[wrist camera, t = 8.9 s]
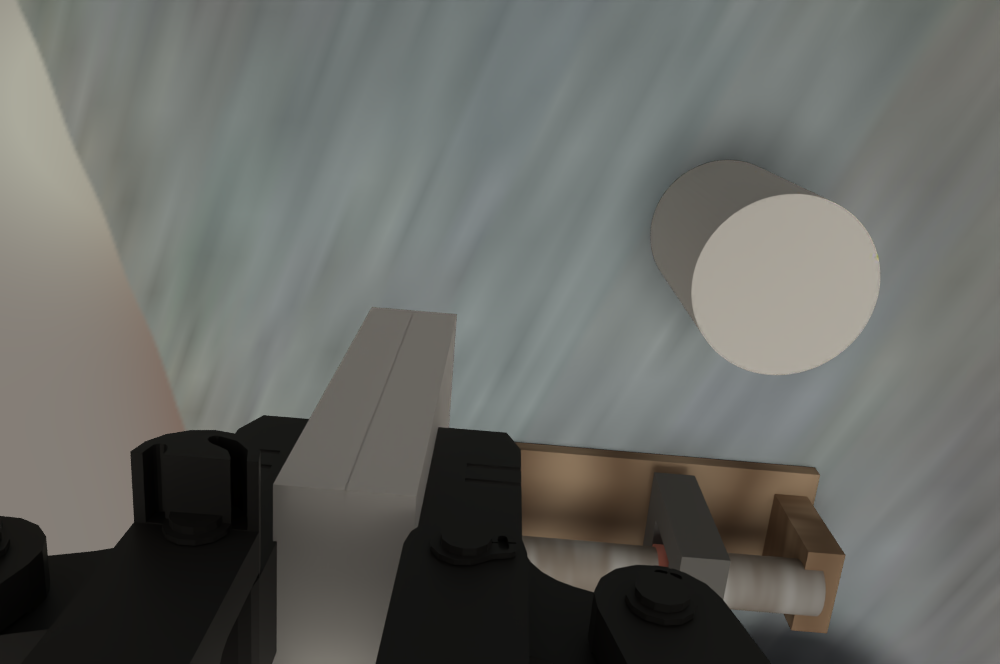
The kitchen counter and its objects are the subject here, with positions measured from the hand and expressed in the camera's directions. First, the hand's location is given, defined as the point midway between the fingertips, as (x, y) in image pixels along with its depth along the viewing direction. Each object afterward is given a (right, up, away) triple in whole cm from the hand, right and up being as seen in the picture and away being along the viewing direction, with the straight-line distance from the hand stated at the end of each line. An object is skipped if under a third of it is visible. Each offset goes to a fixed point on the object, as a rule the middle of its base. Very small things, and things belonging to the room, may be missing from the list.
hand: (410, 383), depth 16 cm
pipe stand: (+8, -10, +39) cm, 41 cm away
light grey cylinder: (+14, +7, +34) cm, 37 cm away
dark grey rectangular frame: (+11, -11, +37) cm, 40 cm away
